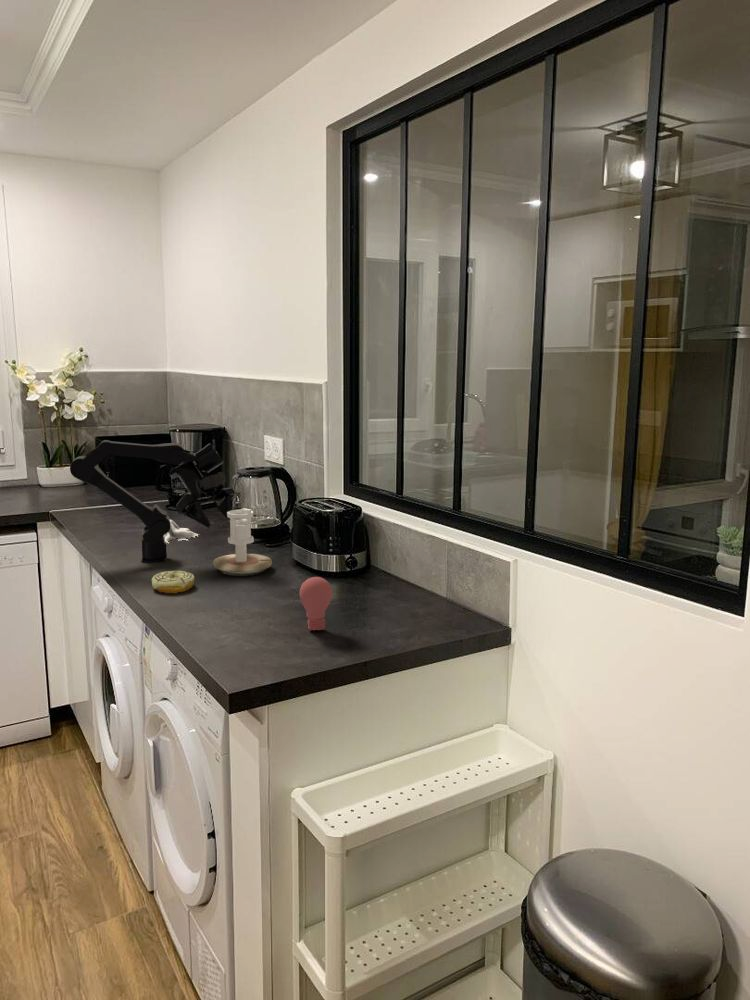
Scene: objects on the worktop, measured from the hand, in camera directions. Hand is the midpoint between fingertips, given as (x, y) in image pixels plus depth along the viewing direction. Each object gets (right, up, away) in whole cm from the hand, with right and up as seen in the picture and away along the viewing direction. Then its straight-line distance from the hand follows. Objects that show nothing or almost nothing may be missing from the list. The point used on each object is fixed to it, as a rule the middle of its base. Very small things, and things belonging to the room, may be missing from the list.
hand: (221, 524), depth 211 cm
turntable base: (+6, -13, -2) cm, 14 cm away
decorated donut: (-8, -16, -20) cm, 27 cm away
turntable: (+6, -11, -2) cm, 13 cm away
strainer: (+6, -10, -3) cm, 12 cm away
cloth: (-23, -6, +35) cm, 43 cm away
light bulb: (+30, -22, -47) cm, 60 cm away
